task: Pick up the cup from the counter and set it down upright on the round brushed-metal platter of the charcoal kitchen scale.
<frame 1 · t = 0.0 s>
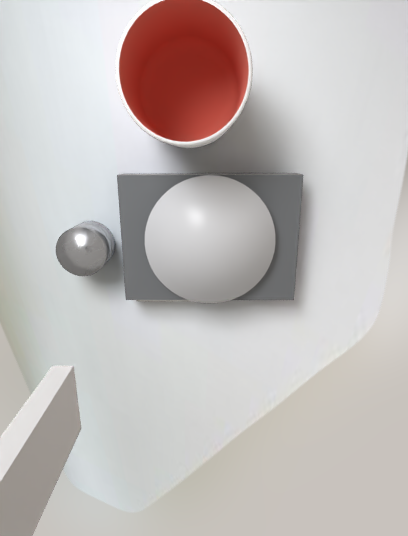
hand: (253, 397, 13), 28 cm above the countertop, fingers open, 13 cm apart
cup: (189, 95, 36), on the countertop
scale: (209, 234, 40), on the countertop
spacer: (92, 243, 41), on the countertop
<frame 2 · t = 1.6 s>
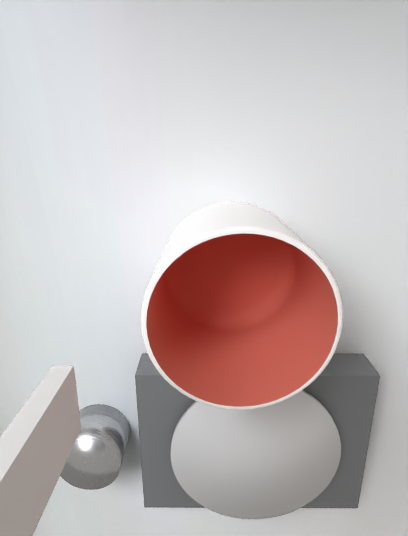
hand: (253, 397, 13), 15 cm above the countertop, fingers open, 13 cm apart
cup: (229, 264, 28), on the countertop
scale: (249, 419, 32), on the countertop
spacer: (101, 427, 32), on the countertop
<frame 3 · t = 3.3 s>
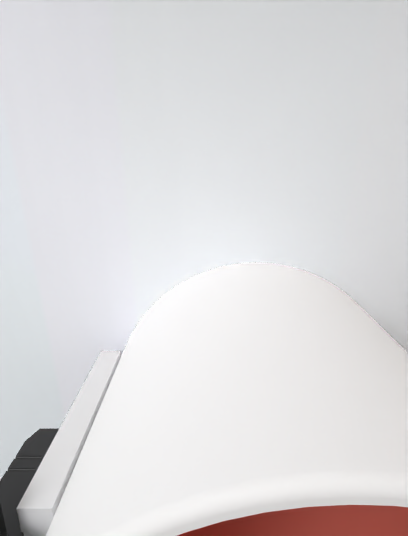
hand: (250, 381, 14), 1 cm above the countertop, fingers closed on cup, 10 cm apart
cup: (247, 367, 15), on the countertop, touching gripper
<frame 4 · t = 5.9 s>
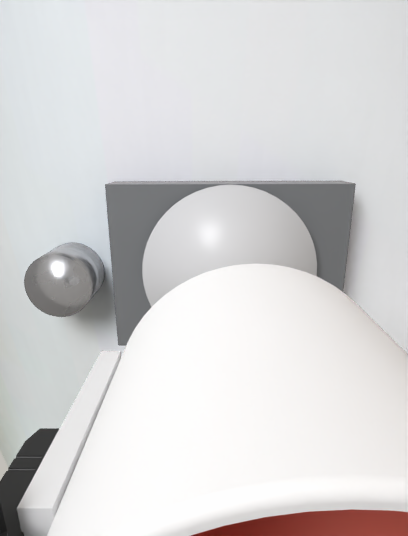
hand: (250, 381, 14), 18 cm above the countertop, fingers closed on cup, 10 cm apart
cup: (247, 368, 15), point 17 cm above the countertop, touching gripper
scale: (226, 259, 31), on the countertop
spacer: (75, 270, 31), on the countertop
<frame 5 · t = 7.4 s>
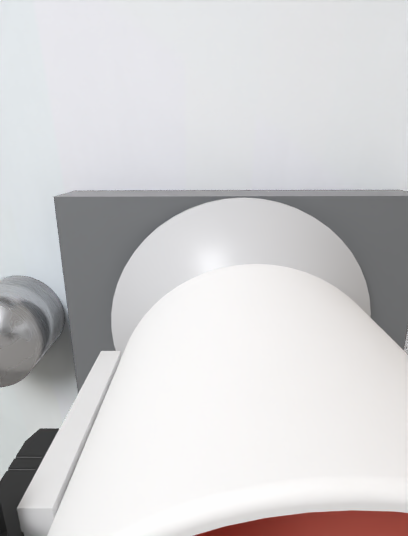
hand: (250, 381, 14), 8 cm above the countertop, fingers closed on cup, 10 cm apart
cup: (247, 368, 15), point 7 cm above the countertop, touching gripper
scale: (234, 299, 22), on the countertop
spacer: (24, 313, 23), on the countertop
when the fingers open (6 cm above the countertop, at t = 8.4 s): cup drops 1 cm, resting on scale.
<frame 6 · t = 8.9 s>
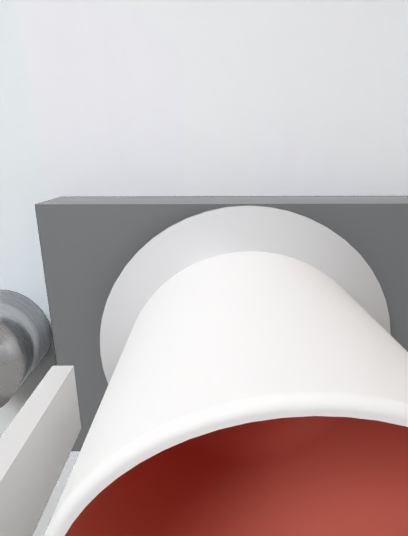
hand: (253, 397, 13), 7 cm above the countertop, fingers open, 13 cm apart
cup: (243, 349, 17), point 4 cm above the countertop, touching scale
scale: (237, 315, 20), on the countertop
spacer: (7, 330, 21), on the countertop
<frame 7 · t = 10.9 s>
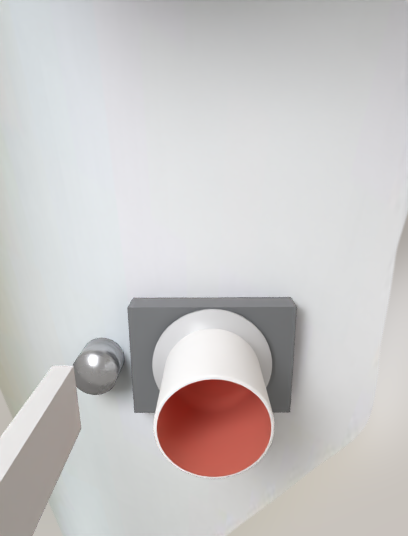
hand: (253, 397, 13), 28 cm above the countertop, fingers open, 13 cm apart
cup: (212, 365, 40), point 4 cm above the countertop, touching scale
scale: (211, 349, 43), on the countertop
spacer: (103, 356, 44), on the countertop
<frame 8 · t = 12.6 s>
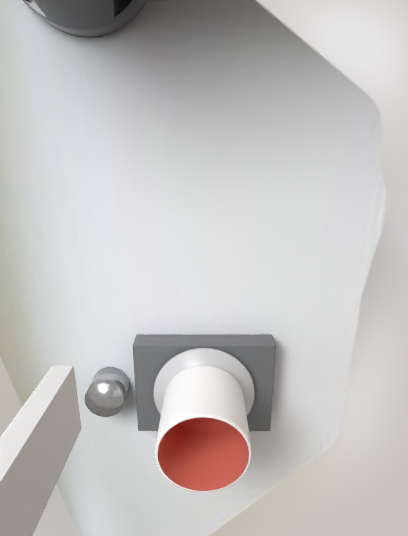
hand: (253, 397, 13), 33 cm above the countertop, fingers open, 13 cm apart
cup: (203, 393, 47), point 4 cm above the countertop, touching scale
scale: (204, 376, 51), on the countertop
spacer: (111, 382, 51), on the countertop
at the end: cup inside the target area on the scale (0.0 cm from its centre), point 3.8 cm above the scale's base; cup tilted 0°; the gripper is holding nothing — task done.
